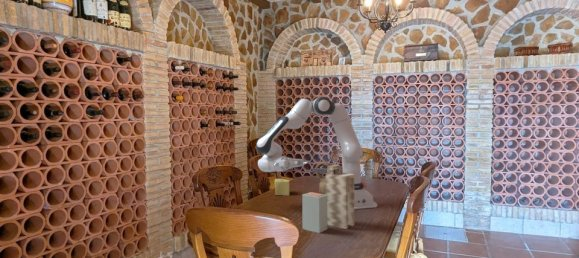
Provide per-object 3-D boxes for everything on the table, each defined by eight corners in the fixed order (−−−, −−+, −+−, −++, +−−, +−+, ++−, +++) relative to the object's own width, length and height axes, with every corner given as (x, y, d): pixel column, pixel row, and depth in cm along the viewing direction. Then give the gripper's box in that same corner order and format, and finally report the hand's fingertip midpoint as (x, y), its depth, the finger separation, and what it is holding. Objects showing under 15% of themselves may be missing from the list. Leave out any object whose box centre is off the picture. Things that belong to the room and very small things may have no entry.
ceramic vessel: (329, 205, 220) (330, 164, 219) (310, 199, 236) (310, 161, 234) (350, 200, 231) (351, 162, 230) (330, 195, 246) (330, 159, 245)
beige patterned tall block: (325, 224, 183) (325, 166, 182) (334, 220, 189) (334, 164, 188) (346, 229, 176) (346, 168, 174) (354, 225, 182) (354, 166, 180)
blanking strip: (312, 172, 190) (312, 168, 190) (315, 171, 193) (315, 168, 193) (334, 173, 181) (334, 169, 181) (338, 172, 184) (337, 168, 184)
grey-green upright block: (302, 228, 176) (302, 194, 176) (310, 225, 182) (310, 191, 181) (319, 233, 170) (319, 197, 169) (327, 229, 176) (327, 194, 175)
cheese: (289, 192, 256) (289, 178, 256) (289, 195, 246) (289, 181, 245) (274, 192, 256) (274, 178, 256) (274, 196, 245) (274, 181, 245)
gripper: (271, 158, 199) (291, 156, 191) (291, 158, 216) (311, 156, 208) (271, 169, 198) (292, 168, 191) (292, 168, 215) (312, 167, 208)
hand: (302, 162), depth 200 cm, fingers open, 8 cm apart
